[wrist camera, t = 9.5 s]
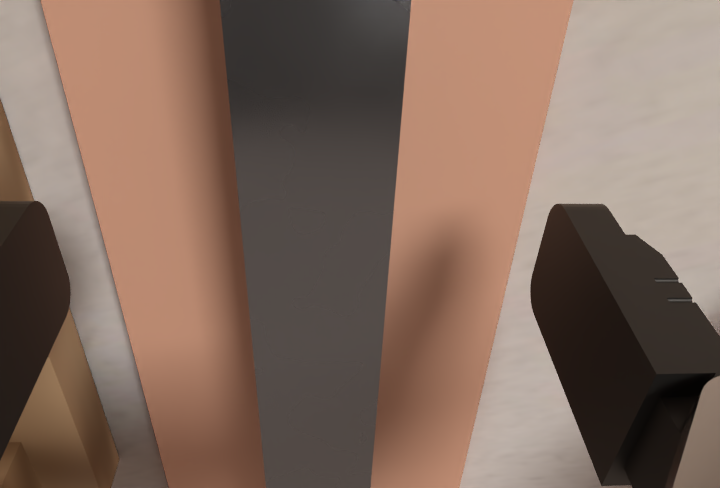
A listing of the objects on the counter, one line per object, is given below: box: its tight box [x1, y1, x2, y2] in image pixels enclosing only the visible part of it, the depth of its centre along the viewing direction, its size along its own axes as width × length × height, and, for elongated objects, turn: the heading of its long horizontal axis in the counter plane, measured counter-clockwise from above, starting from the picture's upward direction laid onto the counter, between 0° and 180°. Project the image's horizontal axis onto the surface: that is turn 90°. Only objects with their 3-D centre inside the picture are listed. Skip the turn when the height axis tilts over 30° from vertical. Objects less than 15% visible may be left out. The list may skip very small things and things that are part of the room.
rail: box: [220, 0, 411, 488], centre depth 12 cm, size 23×2×2 cm, turn 178°
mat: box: [41, 0, 573, 488], centre depth 13 cm, size 26×9×1 cm, turn 178°
